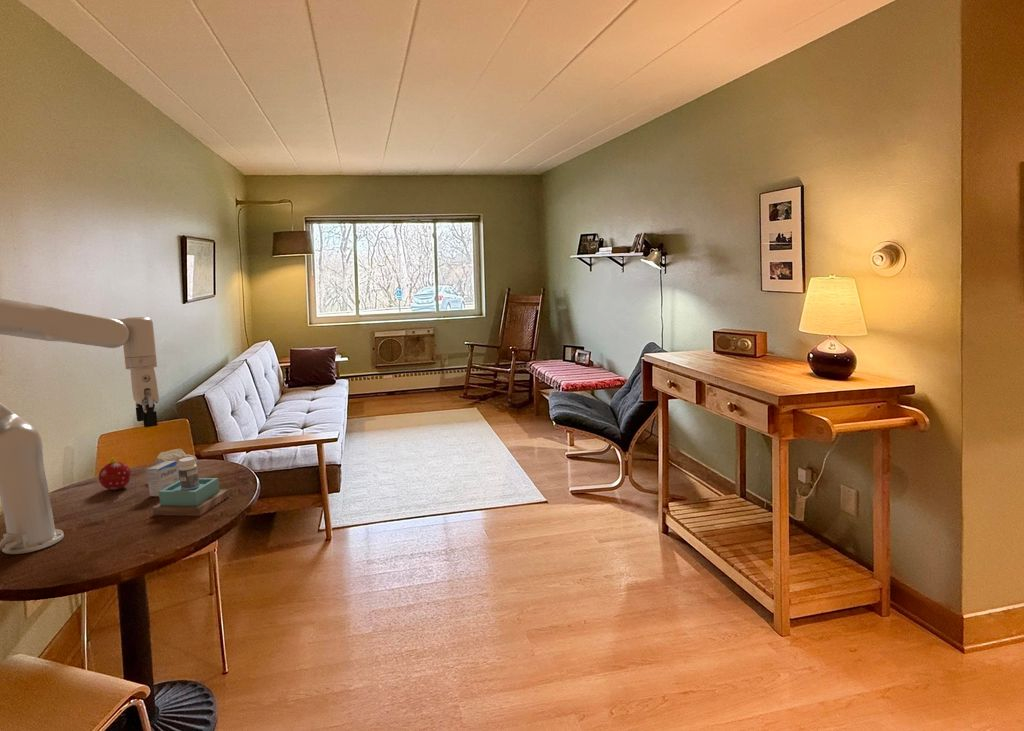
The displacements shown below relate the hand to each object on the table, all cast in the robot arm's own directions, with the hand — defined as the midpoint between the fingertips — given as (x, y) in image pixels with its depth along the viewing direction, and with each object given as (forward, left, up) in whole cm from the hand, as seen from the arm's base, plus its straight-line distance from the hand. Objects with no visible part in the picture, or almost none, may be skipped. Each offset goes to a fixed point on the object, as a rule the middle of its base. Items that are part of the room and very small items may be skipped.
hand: (147, 423), depth 179 cm
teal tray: (+2, -9, -23) cm, 24 cm away
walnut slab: (+2, -9, -26) cm, 27 cm away
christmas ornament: (+14, +25, -25) cm, 38 cm away
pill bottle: (+2, -9, -20) cm, 22 cm away
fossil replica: (+28, +14, -25) cm, 40 cm away
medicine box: (+12, +7, -25) cm, 28 cm away
